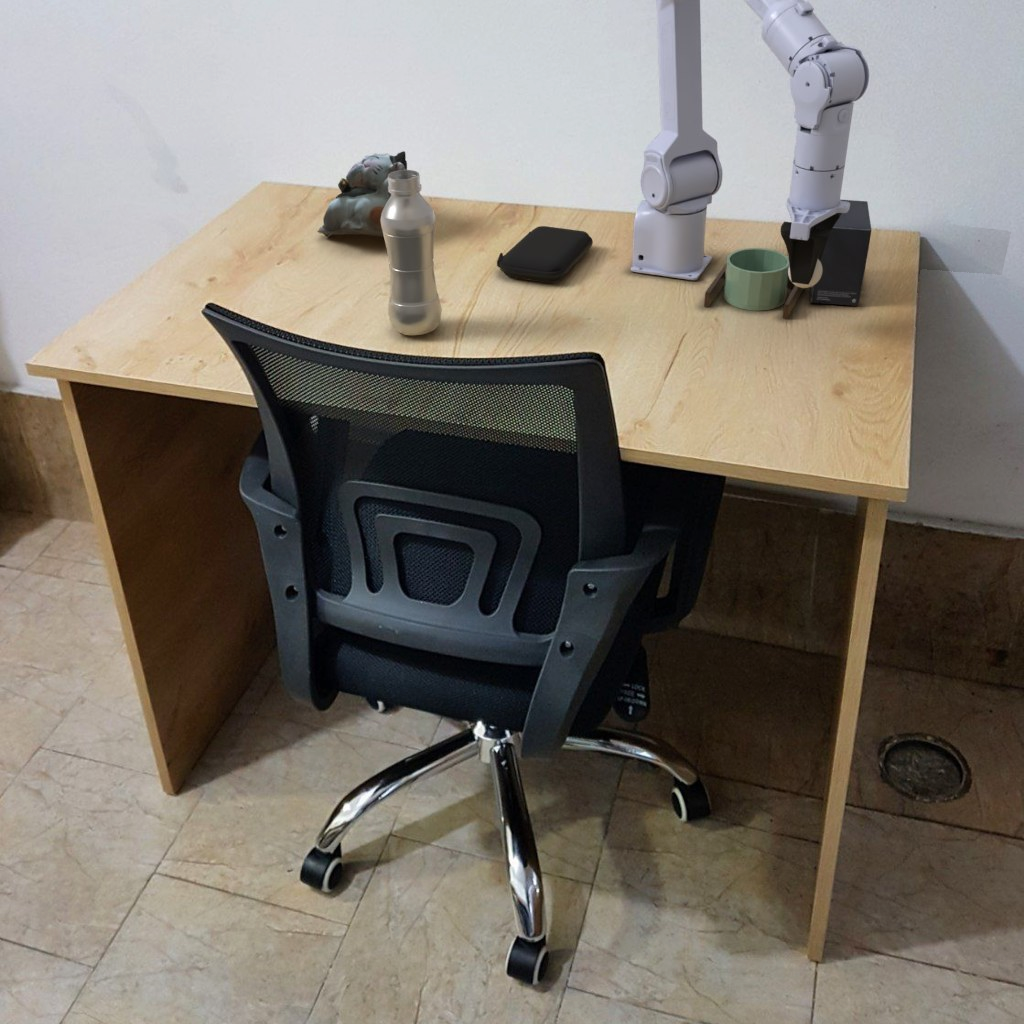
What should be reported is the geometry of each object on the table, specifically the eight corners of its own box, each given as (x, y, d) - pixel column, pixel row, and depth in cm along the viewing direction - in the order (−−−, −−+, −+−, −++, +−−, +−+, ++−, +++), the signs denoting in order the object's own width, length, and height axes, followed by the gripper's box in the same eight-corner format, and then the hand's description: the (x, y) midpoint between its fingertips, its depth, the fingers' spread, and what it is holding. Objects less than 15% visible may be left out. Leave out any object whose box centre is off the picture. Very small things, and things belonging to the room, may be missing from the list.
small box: (861, 307, 145) (874, 229, 139) (809, 304, 146) (819, 226, 140) (858, 274, 153) (869, 198, 147) (808, 271, 154) (818, 196, 148)
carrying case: (528, 239, 167) (487, 278, 156) (528, 219, 165) (486, 257, 154) (596, 248, 163) (559, 289, 152) (596, 228, 162) (559, 267, 151)
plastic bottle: (390, 320, 146) (374, 167, 135) (442, 317, 147) (431, 164, 135) (390, 343, 141) (373, 185, 129) (444, 339, 141) (432, 182, 130)
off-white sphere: (783, 290, 136) (786, 259, 134) (790, 277, 139) (794, 246, 137) (816, 295, 135) (820, 263, 132) (823, 282, 138) (827, 251, 135)
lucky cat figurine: (306, 233, 172) (320, 139, 170) (378, 248, 178) (392, 158, 176) (343, 234, 159) (359, 133, 157) (419, 251, 165) (435, 154, 163)
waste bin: (716, 305, 147) (719, 268, 144) (732, 281, 153) (735, 244, 150) (778, 314, 144) (782, 276, 141) (791, 289, 150) (796, 252, 147)
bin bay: (704, 306, 147) (705, 292, 145) (724, 276, 154) (725, 262, 153) (787, 319, 143) (789, 304, 142) (804, 287, 150) (806, 273, 149)
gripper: (842, 188, 121) (826, 304, 129) (866, 147, 132) (849, 257, 140) (777, 181, 124) (764, 295, 132) (805, 141, 134) (792, 249, 142)
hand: (804, 275), depth 136 cm, fingers closed on off-white sphere, 4 cm apart
